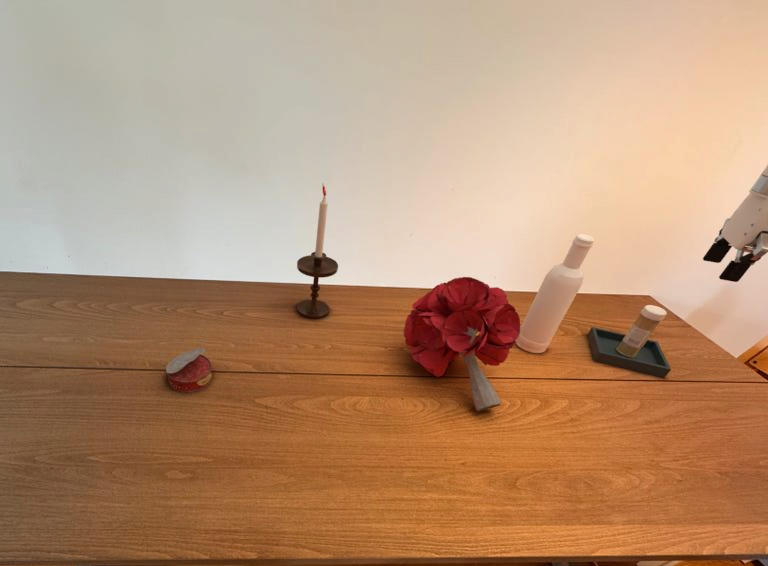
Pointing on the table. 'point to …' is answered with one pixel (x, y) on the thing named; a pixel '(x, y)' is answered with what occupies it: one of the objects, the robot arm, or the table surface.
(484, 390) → the bouquet
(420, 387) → the table surface
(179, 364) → the canned food
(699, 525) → the table surface
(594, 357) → the serving tray
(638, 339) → the sprinkles bottle
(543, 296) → the bottle
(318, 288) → the candlestick
